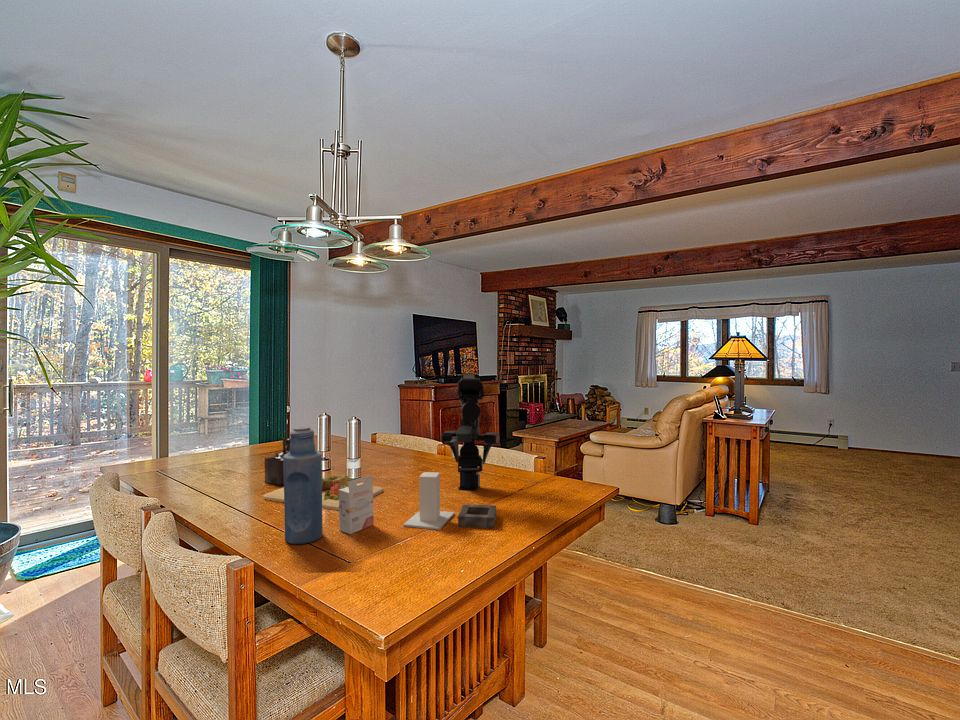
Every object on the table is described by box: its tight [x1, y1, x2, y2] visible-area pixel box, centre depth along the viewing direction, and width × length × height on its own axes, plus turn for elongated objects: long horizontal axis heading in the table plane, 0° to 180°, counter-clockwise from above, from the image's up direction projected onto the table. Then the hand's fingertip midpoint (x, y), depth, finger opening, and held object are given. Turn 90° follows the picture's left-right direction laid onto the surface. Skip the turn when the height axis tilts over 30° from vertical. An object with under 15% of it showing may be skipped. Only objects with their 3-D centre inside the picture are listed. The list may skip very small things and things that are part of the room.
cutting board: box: [262, 474, 384, 512], centre depth 163 cm, size 35×23×8 cm
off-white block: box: [418, 471, 441, 521], centre depth 138 cm, size 5×5×13 cm
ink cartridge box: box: [338, 474, 374, 535], centre depth 132 cm, size 9×5×15 cm, turn 143°
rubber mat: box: [403, 510, 455, 531], centre depth 138 cm, size 11×13×1 cm
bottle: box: [283, 426, 324, 546], centre depth 125 cm, size 10×10×30 cm
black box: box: [264, 437, 291, 486], centre depth 179 cm, size 16×11×18 cm
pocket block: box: [457, 504, 497, 529], centre depth 137 cm, size 10×10×3 cm
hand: (470, 462), depth 154 cm, fingers open, 9 cm apart
